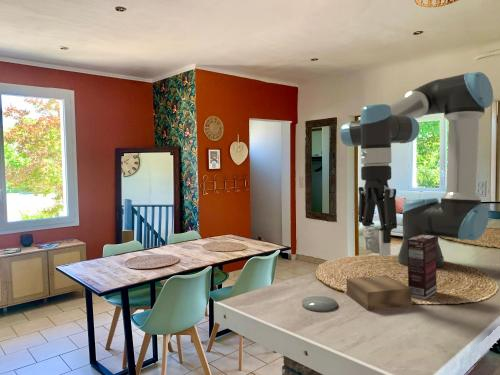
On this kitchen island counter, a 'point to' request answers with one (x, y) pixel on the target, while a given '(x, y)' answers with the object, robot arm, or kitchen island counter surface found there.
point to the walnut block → (378, 292)
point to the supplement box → (422, 266)
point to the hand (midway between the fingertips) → (376, 252)
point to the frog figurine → (372, 238)
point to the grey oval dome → (319, 303)
